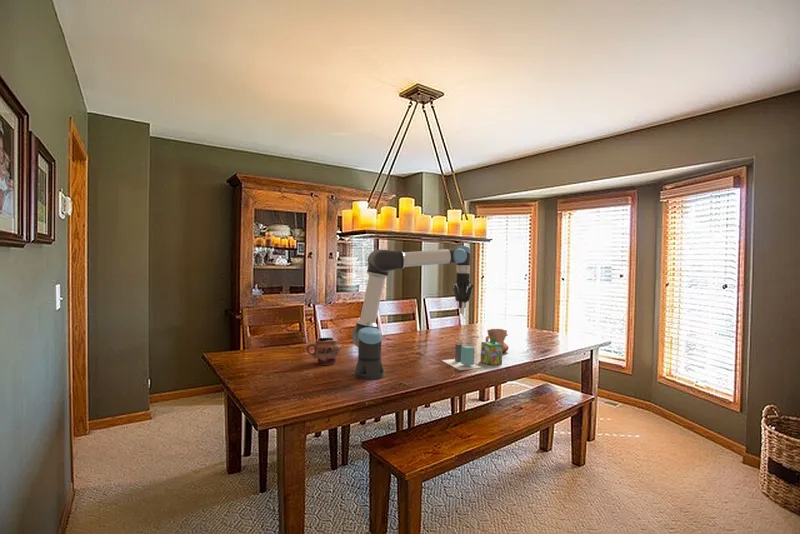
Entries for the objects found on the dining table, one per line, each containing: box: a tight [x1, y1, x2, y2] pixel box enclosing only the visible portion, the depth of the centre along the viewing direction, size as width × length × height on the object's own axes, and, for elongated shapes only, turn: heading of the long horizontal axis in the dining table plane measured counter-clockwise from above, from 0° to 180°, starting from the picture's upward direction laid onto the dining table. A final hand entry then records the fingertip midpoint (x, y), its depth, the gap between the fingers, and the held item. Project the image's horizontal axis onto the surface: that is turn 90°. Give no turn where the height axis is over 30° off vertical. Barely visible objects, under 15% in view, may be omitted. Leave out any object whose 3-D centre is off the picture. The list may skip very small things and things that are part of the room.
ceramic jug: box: [485, 328, 509, 354], centre depth 267 cm, size 18×14×14 cm
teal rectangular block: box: [461, 345, 475, 366], centre depth 229 cm, size 5×5×10 cm
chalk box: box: [480, 337, 503, 366], centre depth 239 cm, size 9×9×15 cm
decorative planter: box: [305, 337, 343, 366], centre depth 229 cm, size 20×12×14 cm, turn 119°
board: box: [441, 358, 482, 371], centre depth 234 cm, size 14×20×1 cm
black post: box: [454, 343, 463, 362], centre depth 239 cm, size 3×3×10 cm
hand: (461, 313), depth 237 cm, fingers closed
